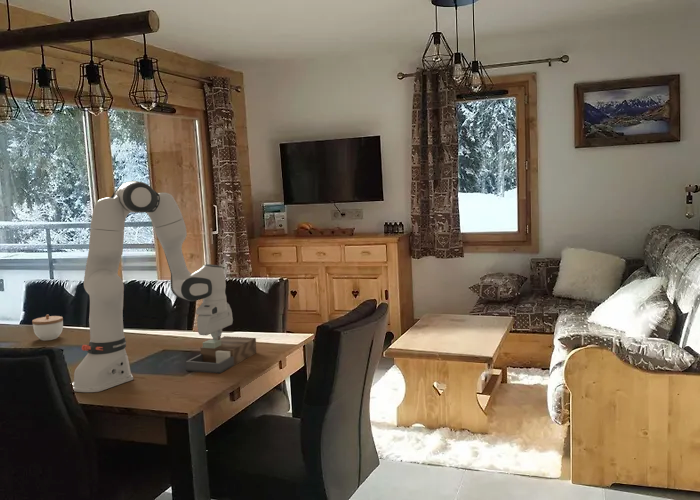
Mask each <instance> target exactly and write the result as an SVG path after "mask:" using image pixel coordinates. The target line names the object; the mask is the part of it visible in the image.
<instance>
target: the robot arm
mask: <svg viewBox="0 0 700 500" xmlns="http://www.w3.org/2000/svg"><path fill="white" fill-rule="evenodd" d="M130 213H134V214H135V213H142V214H143V213H145V214H147V215H148V217H149V219H150V221H151V225H152V227H153V231H154V233H155V235H156V238H157V240H158V241H159V243H160V245H161V247H162V250H163V252H164V256H165V259H166V262H167V265H168V269H169V272H170V289H171V292H172V294H173V295H174V296H175V297H177V298H180V299H183V300H186V301H189V302H196V301H199V300H202V302H201V304H200V305H199V306H198V307H197V308H196V310H195V313H196V315H198V316H197V318H196V319H197V320H196V323H197V325H196V326H197V333H198V334H199V336H208V335H211V337H212V339H213V340H221V338H222V334H223V329H224V328H227V327H229V326H232V325H233V321H234V319H233V312H232V308H231V305H230V304H229V302H227V294H226V288H227V287H226V286H227V284H226V275H225V270H224V268H223V267H222V266H220V265H217V264H206V263H205V264H203V265H202V266H201V268H199V269H198V270H196V271H194V272H193V273H191V272H190V271H189V269H188V267H187V264H186V259H185V256H184V254H183V250H182V249H183V243H184V242H185V240H186V238H187V236H188V235H187V234H188V233H187V232H188V231H187V226H186V223H185V220H184V217H183V213H182V212H181V209H180V208H179V205H178V202H177V201H176V200H175V198H174V196H173V194H171V193H168V192H157V191H156V190H154V188H152V187H151V186H150V185H149V184H148V183H145V182H144V181H143V182H142V181H137V180H130V181H126V182H123V183H122V184H120V185H119V186H118V187H117V188H116V189H115V191H114V192H113V194H112V195H111V196H110V197H104V198H100V199H98V200H97V201H96V203H95V205H94V208H93V211H92V216H91V221H90V231H89V242H88V244H89V245H88V253H87V259H86V264H85V271H84V277H83V288H84V290H85V292H86V293H87V294H88V296H89V316H88V317H89V318H88V322H89V323H88V325H89V339H90V340H89V344H82V346H81V350H82V351H86V352H87V354H86V355H85V357H84V358H83V359H82V360H81V361H80V363H79V364H78V365H77V367H76V368H75V370H74V373H73V382H71V383H72V385H73V389H74V391H73V392H76V393H77V392H78V393H98V392H102V391H105V390H107V389H110V388H113V387H116V386H119V385H121V384H125V383H127V382H130V381H133V380H134V376H133V374H132V372H131V367H130V366H131V365H130V361H129V356H128V354H127V351H126V348H127V340H126V336H125V332H124V331H125V330H124V321H123V320H124V317H123V315H124V314H123V310H124V291H125V286H124V285H125V284H124V281H123V279H122V277H121V276H119V269H120V263H121V259H122V256H123V253H124V251H123V250H124V241H125V239H124V237H125V222H126V219H127V217H128V215H129V214H130Z"/></svg>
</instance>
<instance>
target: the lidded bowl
mask: <svg viewBox="0 0 700 500" xmlns="http://www.w3.org/2000/svg"><path fill="white" fill-rule="evenodd" d="M31 323H32V328H33V333H34V335H35V336H36V337H37V338H38V339H39V340H40V341H53V340H56V339H58V338H59V337H60V336H61V334H62V332H63V327H64V318H63V316H62V315H61V316H60V315H51V316H50V315H49V314H46V315H45V316H41V317H37V318H34V319H32V321H31Z"/></svg>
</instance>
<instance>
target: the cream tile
mask: <svg viewBox="0 0 700 500" xmlns="http://www.w3.org/2000/svg"><path fill="white" fill-rule="evenodd" d="M229 357H230V351H220V350H218V351H216V363H220V362H222V361H224V360H225V359H227V358H229Z"/></svg>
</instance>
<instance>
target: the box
mask: <svg viewBox="0 0 700 500" xmlns="http://www.w3.org/2000/svg"><path fill="white" fill-rule="evenodd" d="M234 366H235V365H234V358H233V356H231V357H229V358H227V359H225V360H224V361H222V362H220V363H214V362H203V354H201V353H200V354H198V355H196V356H194V357H192V358H190V359H188V360H186V361H185V371H186V372H195V373H196V372H197V373H207V374H208V373H210V374H222V373H223V372H225V371H227V370H229V369H230V368H232V367H234Z"/></svg>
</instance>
